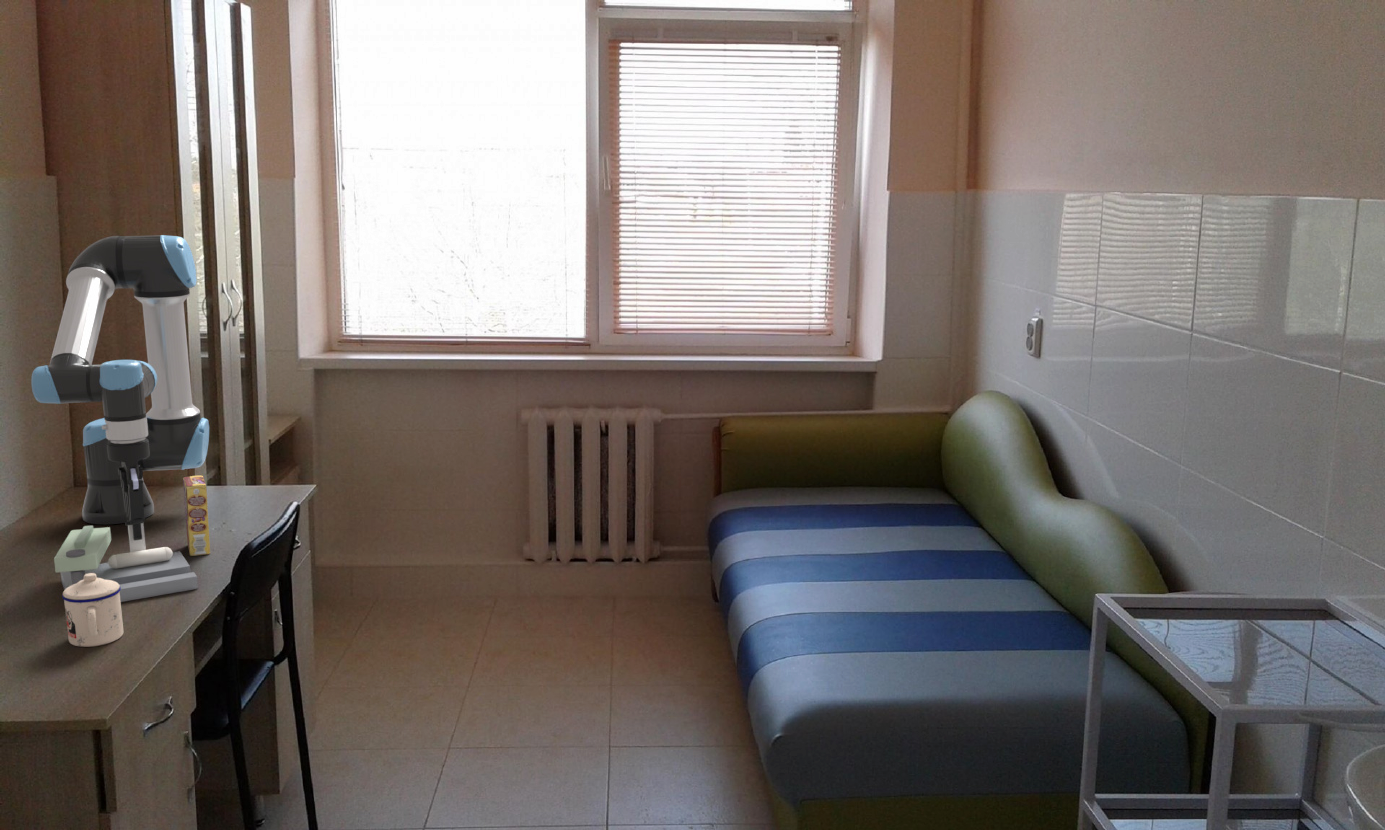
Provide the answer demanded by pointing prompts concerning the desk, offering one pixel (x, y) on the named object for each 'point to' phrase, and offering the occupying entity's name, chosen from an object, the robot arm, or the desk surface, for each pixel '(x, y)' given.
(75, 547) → the cover
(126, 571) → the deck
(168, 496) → the desk surface
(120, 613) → the teacup with lid
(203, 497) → the candy box
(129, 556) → the white rounded rod
